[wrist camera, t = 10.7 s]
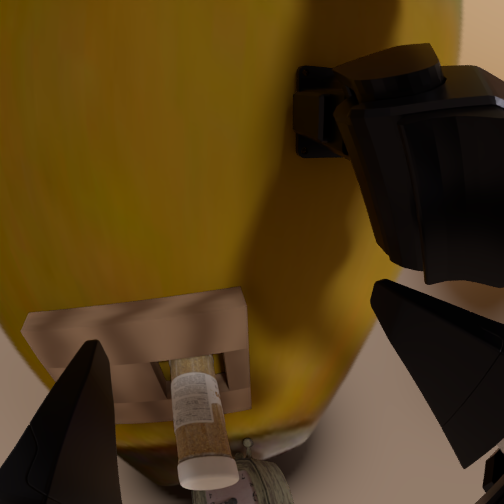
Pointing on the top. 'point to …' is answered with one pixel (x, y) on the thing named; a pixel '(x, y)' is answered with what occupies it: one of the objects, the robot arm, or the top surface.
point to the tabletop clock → (250, 484)
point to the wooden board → (151, 346)
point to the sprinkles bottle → (200, 426)
